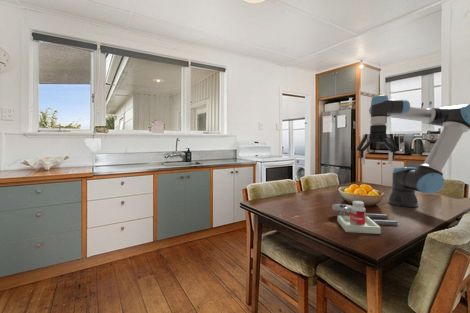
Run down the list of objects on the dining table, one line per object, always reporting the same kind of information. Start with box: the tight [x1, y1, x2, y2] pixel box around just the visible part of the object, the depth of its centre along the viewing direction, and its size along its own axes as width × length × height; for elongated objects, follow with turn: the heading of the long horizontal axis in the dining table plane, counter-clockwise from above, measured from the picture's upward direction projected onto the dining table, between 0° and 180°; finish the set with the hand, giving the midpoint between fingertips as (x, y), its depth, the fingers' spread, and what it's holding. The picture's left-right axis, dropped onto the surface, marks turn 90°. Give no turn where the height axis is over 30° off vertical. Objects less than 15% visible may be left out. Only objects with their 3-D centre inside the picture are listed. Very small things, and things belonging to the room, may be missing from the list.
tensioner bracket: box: [365, 212, 399, 227], centre depth 117 cm, size 10×11×2 cm
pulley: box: [331, 203, 352, 216], centre depth 122 cm, size 10×10×6 cm
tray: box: [336, 214, 382, 235], centre depth 109 cm, size 14×14×3 cm
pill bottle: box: [349, 200, 367, 226], centre depth 109 cm, size 6×6×11 cm
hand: (376, 164), depth 129 cm, fingers open, 13 cm apart
